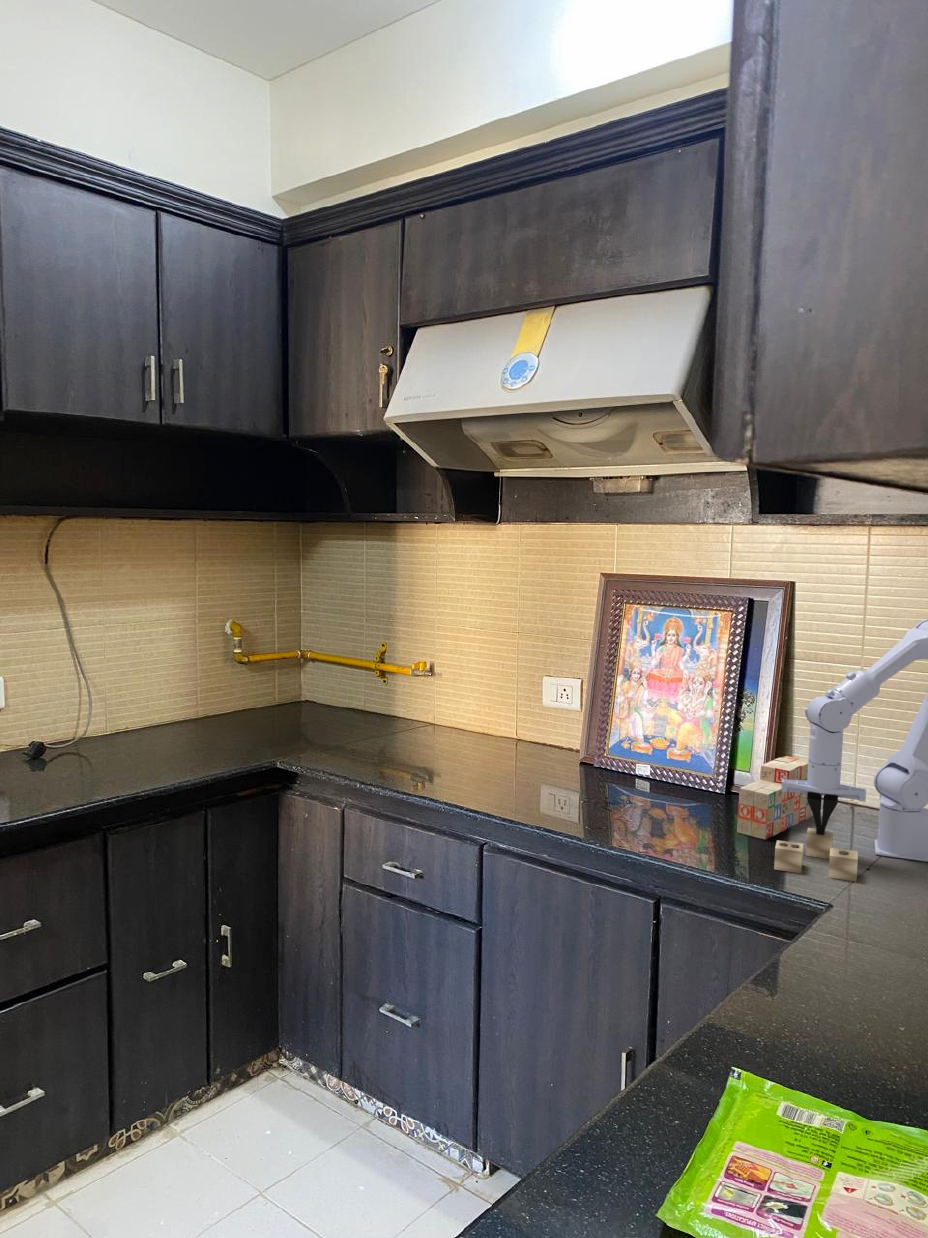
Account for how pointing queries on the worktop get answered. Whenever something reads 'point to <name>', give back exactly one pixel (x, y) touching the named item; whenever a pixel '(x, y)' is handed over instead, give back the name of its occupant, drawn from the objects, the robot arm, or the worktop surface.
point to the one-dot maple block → (843, 864)
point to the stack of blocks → (773, 799)
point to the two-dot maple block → (788, 856)
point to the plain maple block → (819, 843)
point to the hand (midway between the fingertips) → (820, 833)
